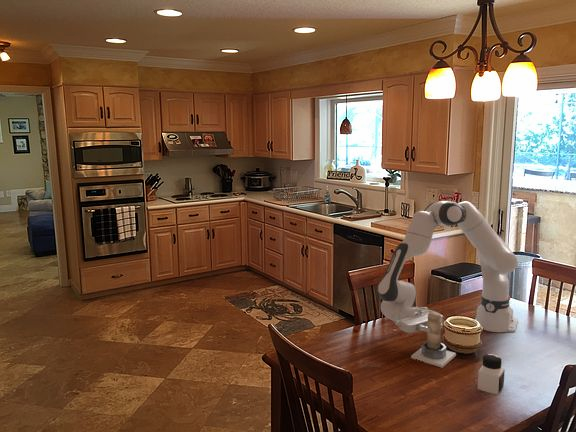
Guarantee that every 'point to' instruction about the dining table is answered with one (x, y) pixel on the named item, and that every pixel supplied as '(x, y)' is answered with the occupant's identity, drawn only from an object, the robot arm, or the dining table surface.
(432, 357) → the socket board
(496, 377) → the medicine bottle
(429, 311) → the robot arm
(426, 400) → the dining table surface
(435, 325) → the wooden pin
